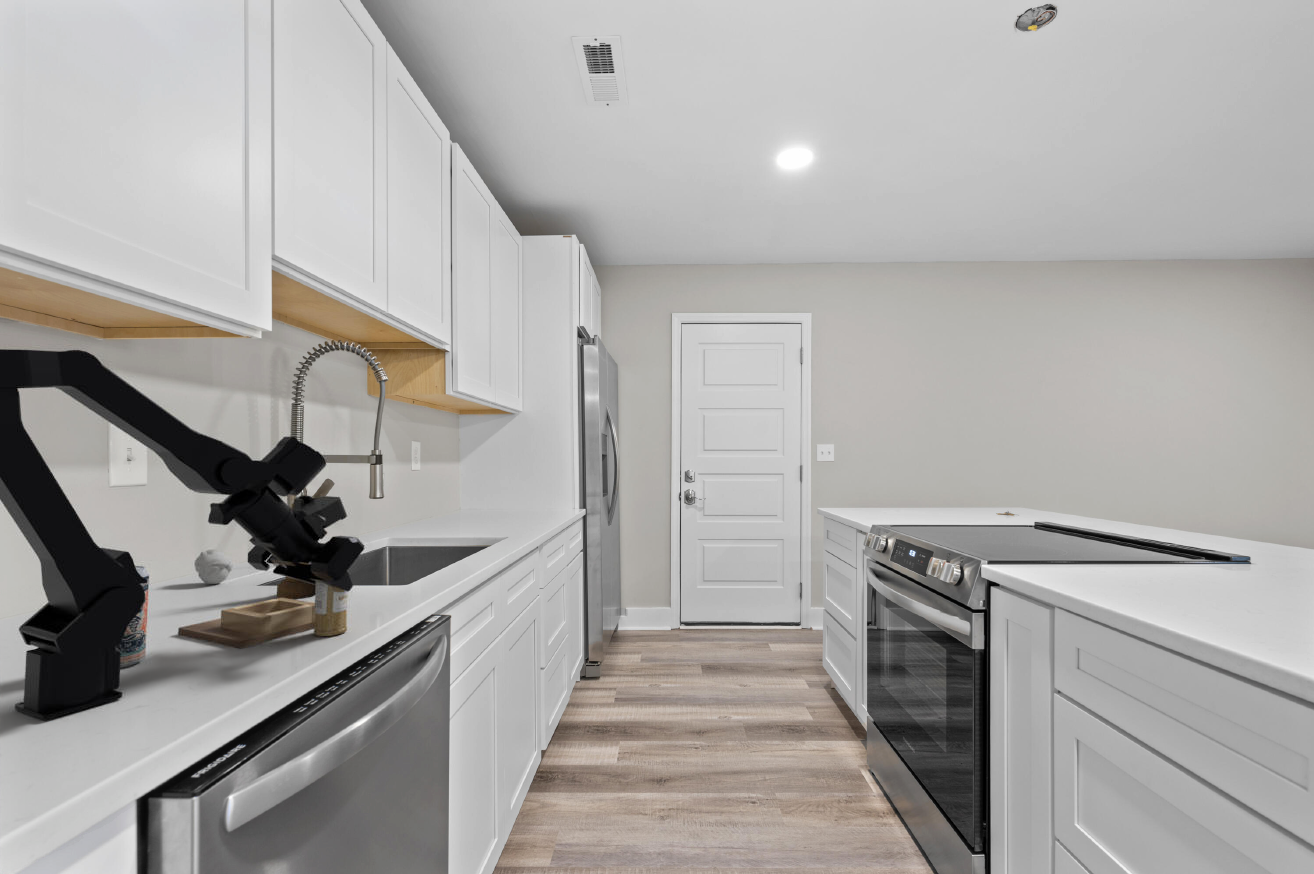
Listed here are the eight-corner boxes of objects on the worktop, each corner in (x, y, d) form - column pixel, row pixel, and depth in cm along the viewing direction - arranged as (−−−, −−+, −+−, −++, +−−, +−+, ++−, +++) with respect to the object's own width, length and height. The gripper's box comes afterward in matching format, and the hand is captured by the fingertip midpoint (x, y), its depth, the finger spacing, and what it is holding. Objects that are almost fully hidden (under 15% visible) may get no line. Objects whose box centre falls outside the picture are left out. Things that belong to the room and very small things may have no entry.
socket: (240, 648, 83) (241, 622, 83) (178, 634, 89) (179, 610, 89) (337, 622, 97) (337, 600, 97) (277, 611, 103) (278, 590, 103)
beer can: (109, 673, 73) (114, 573, 74) (85, 667, 75) (90, 570, 75) (154, 660, 78) (158, 567, 78) (130, 656, 79) (134, 564, 80)
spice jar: (348, 634, 90) (352, 544, 91) (314, 638, 88) (317, 546, 88) (345, 626, 94) (348, 540, 95) (311, 631, 92) (315, 542, 92)
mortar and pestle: (270, 599, 111) (274, 501, 111) (283, 592, 117) (287, 499, 118) (310, 598, 112) (314, 501, 113) (321, 590, 119) (324, 499, 119)
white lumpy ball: (215, 579, 127) (216, 546, 128) (240, 582, 125) (241, 548, 126) (185, 585, 122) (186, 550, 122) (211, 588, 120) (212, 552, 120)
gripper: (354, 480, 84) (415, 549, 94) (271, 476, 92) (334, 540, 102) (298, 543, 77) (369, 612, 86) (212, 533, 85) (286, 597, 95)
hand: (340, 586), depth 93 cm, fingers closed on spice jar, 4 cm apart
